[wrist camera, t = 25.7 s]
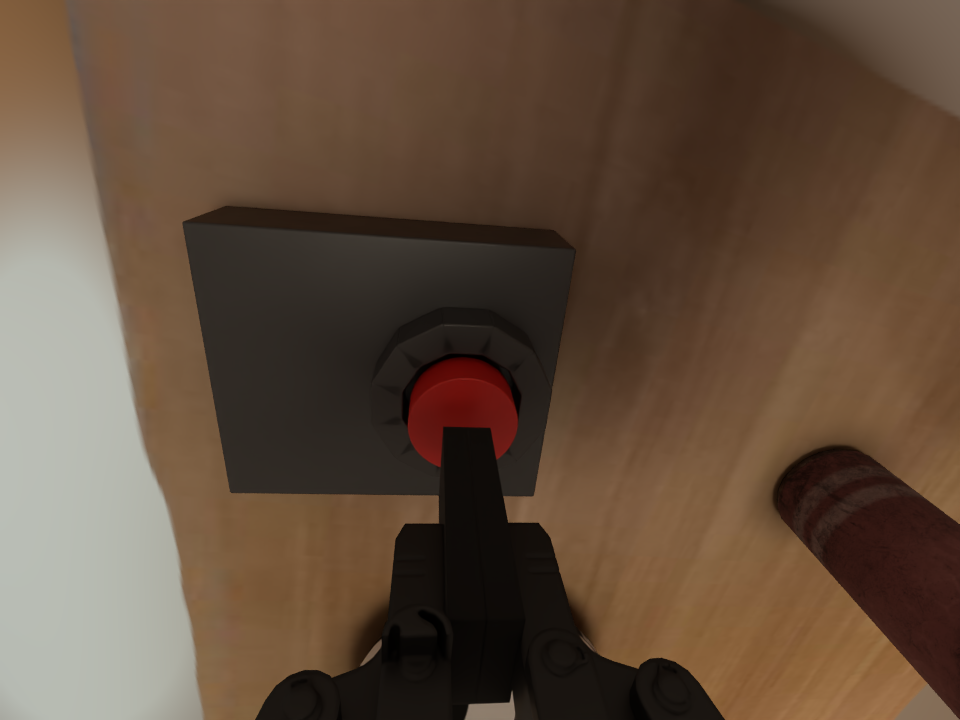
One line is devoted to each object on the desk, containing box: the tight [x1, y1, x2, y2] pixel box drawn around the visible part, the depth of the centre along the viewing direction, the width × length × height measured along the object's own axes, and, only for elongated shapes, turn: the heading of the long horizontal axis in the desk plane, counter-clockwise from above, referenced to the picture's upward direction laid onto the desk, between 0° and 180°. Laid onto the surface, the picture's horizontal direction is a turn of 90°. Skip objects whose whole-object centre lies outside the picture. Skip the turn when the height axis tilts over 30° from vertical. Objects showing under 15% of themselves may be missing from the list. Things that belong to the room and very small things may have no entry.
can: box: [778, 449, 960, 719], centre depth 23 cm, size 6×6×14 cm
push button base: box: [183, 206, 576, 496], centre depth 21 cm, size 14×12×6 cm
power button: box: [408, 357, 518, 467], centre depth 18 cm, size 4×4×2 cm
